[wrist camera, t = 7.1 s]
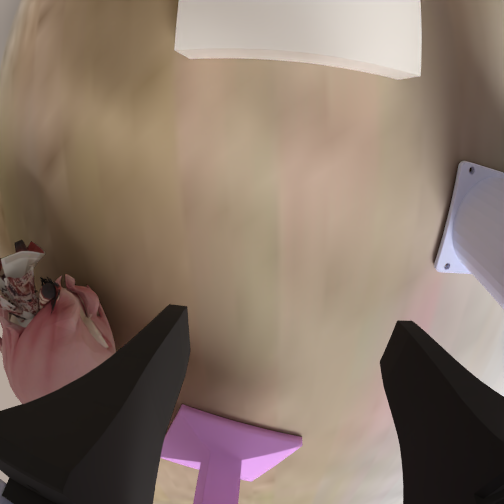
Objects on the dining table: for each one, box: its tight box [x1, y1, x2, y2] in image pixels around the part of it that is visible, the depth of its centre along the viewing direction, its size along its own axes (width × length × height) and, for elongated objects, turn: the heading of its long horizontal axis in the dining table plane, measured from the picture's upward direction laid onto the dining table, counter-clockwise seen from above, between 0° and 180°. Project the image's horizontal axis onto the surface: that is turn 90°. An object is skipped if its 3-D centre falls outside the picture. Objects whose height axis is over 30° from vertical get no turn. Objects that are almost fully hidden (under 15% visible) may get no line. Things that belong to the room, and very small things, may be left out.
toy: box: [0, 240, 116, 404], centre depth 18 cm, size 12×11×15 cm
